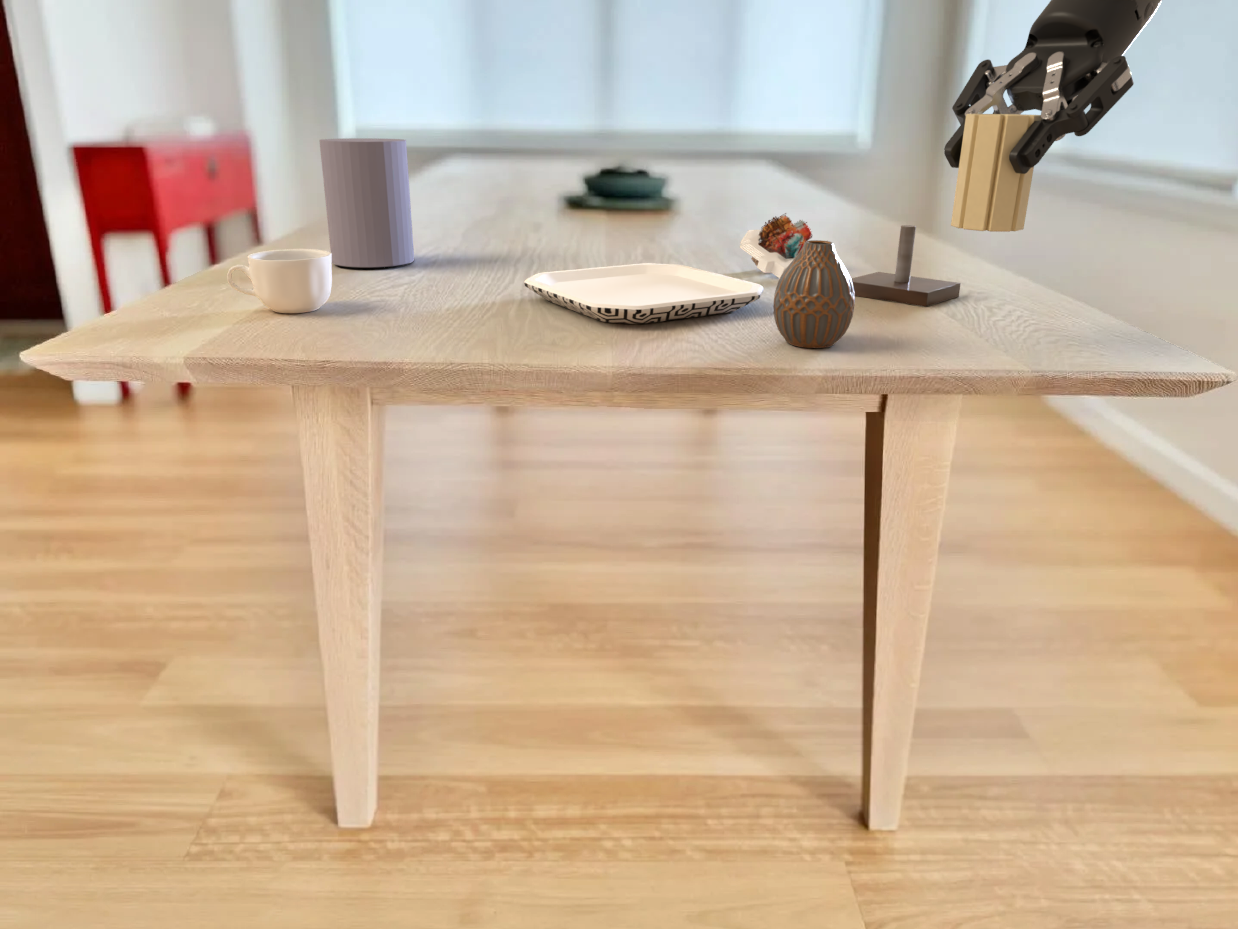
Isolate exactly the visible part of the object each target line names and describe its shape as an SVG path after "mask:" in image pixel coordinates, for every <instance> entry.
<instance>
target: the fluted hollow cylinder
mask: <svg viewBox="0 0 1238 929" xmlns="http://www.w3.org/2000/svg"><path fill="white" fill-rule="evenodd" d="M1041 120H1042V119H1041V114H1026V113H1025V114H1024V113H1021V114H993V113H983V114H966V119H965V127H964V134H963V141H962V148H961V155H960V163H959V168H958V170H957V176H956V177H957V178H956V186H955V190H954V191H955V192H954V199H953V205H952V206H953V207H952V214H951V221H950V227H954V228H956V229H963V230H965V231H966V230H968V231H976V232H977V231H978V232H986V231H987V232H990V233H991V232H996V233H997V232H998V233H1000V232H1003V233H1005V232H1007V233H1009V232H1019V231H1023V230H1024V229H1025V222H1026V217H1027V211H1028V210H1027V209H1028V205H1029V199H1030V193H1031V186H1032V181H1033V175H1034V168H1035V166H1034V167H1032V168H1030V170H1029V171H1028V172H1027V173H1026V174H1020V173H1016V172H1015V171H1014V169H1013V167H1012V165H1011V162H1010V160H1009V155H1010V152H1011V151H1012V149H1013V148H1014V147H1015V145H1016V144H1017V143H1018V142H1019V140H1020V139H1021V138H1022V136H1023V135H1024V134H1025V132H1026V131H1027V130H1028V128H1029V127H1030V126H1031V125H1032V123H1033V122H1034V121H1041Z"/></svg>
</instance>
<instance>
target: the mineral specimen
mask: <svg viewBox="0 0 1238 929" xmlns="http://www.w3.org/2000/svg"><path fill="white" fill-rule="evenodd" d="M812 232H813V231H811V228H810V227H809V224H808V221H806V220H803V219H799V220H798V221H796V222H792V219H791V218H790V217H789V216H787V212H785V213H783V214H782V215H780V216H776V215H775V216H772V218H771V219H768V220H767V222H766V221H765V222H764V225H763V226H761V228H760V229H747V231H746V233H745V235H744V236H743V237H742V239H741V241H739V244H740V245H739V248H740V249H741V250H743V251H744V252H745V253H747V254H748V255H750V256H751V257H750V259H751V261H752V262H753V264H754V265H755V266H756V269H758V270H759V271H761V273H764V274H769V273H770V274H772V275H774V276H775V277H776V278H778V280H779V279H780V277H781V275H782V273H783V272H784V270H785V269H786V268H787V267H788V266H789V264H790V263H791V262H792V261H793V260H794V259H795V257H796V256H797V255H798V254H799V252H800V251H801V249H802V247H803V245H804V243H805V242H806V241H810V240H811V239H812V238H813V234H812Z"/></svg>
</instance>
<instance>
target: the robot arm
mask: <svg viewBox="0 0 1238 929" xmlns="http://www.w3.org/2000/svg"><path fill="white" fill-rule="evenodd" d="M1162 1H1163V0H1050V1H1048V4H1046V6H1045V8H1044V9H1043V10H1042V11H1041V12H1040V14H1039V15H1038V16H1037V18H1036V19H1035V20H1034V22H1033V23H1032V24H1031V27H1030V29H1029V31H1028V32H1029V33H1028V36H1027V40H1026V43H1025V47H1024V49H1023V50H1022V51H1021V52H1019V53H1018V54H1017V55H1016V56H1014V57H1013V58H1012V59H1010V60H1009V62H1008V63H1007V64H1006V65H1005V64H1004V65H998V66H994V65H993V63H992V60H991V59H984V60H982V61H980V62H979V63H978V64H977V66H976V68H975V69H974V71H973V73H972V74H971V75H970V78H969V79H968V81H967V82H966V84H965V85H964V87H963V88H962V91H961V92H960V93H959V96H958V97H957V99H956V100H955V102H954V104H953V105H952V108H951V109H952V110H953V113H954V115H955V117H956V119H957V122H958V123H959V126H958V127H957V129H956V130H955V132H954V133H953V135H952V136H951V137H950V138H949V140H948V141H947V142H946V144H944V148H943V151H944V152H943V153H944V157H945V159H946V160H947V162H948V165H949V166H950V167H951V168H953V169H959V163H960V155H961V148H962V141H963V134H964V127H965V119H966V114H985V112H986V111H988V110H990V108H992V109H993V112H992V114H1023V113H1024V112H1027V111H1033V110H1035V111H1039V112H1040V115H1041V119H1042V120H1041V121H1034V122H1033V123H1032V125H1031V126H1030V127H1029V128H1028V130H1027V131H1026V132H1025V134H1024V135H1023V136H1022V138H1021V139H1020V140H1019V142H1018V143H1017V144H1016V145H1015V147H1014V148H1013V149H1012V151H1011V152H1010V155H1009V160H1010V162H1011V165H1012V167H1013V169H1014V171H1015V172H1016V173H1020V174H1026V173H1027V172H1028V171H1029V170H1030V168H1032V167H1034V168H1035V166H1036V165H1038V164H1039V163H1040V161H1042V159H1043V157H1044V156H1045V155H1046V153H1047V152H1048V151H1049V150H1050V148H1051V147H1052V145H1053V144H1054V143H1055V142H1058V141H1060V140H1062V139H1064V138H1065V136H1066V135H1068V134H1072V133H1074V136H1076V137H1083V136H1086V135H1087V134H1089V133H1090V131H1091V130H1092V129H1094V127H1095V126H1097V124H1098V123H1099V122H1100V121H1101V120H1102V119H1103V118H1104V117H1105V116H1106V115H1107V114H1108V112H1109V111H1110V110H1111V109H1112V108H1113V107H1114V106H1115V105H1116V104H1117V103H1118V102H1119V101H1120V100H1121V99H1122V98H1123V97H1124V95H1126V93H1127V92H1128V91H1129V90H1130V89H1131V88H1132V87H1133V86H1134V84H1135V81H1134V78H1133V76H1132V72H1131V68H1130V66H1129V65H1130V64H1128V61H1127V58H1126V56H1125V53H1126V52H1127V51H1128V49H1129V48H1130V47H1131V45H1132V44H1133V43H1134V41H1135V40H1136V39H1137V37H1139V35H1140V34H1141V32H1142V31H1143V29H1144V28H1145V27H1146V26H1147V24H1148V23H1149V22H1150V21H1151V19H1152V18H1153V16H1154V15H1155V13H1157V10H1158V8H1159V7H1160V6H1161V3H1162ZM1005 92H1006V94H1007V96H1008V98H1009V101H1010V102H1011V104H1010V105H1009V106H1008V105H1007V102H1006V99H1005V98H1004V94H1005ZM1089 106H1090V108H1089V110H1087V112H1085V110H1086V109H1087V108H1088V107H1089Z"/></svg>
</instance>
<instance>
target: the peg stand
mask: <svg viewBox="0 0 1238 929" xmlns="http://www.w3.org/2000/svg"><path fill="white" fill-rule="evenodd" d="M916 231H917V225H913V224H902V225H900V230H899V239H898V247H897V254H896V255H897V257H896V261H895V262H896V264H895V272H894V273H891V272H883V271H877V272H872V273H868V274H864V275H860V276H855V277H851V279H852V282H853V286H854V293H855V297H861V298H868V299H873V300H879V301H880V300H881V301H887V302H893V303H897V304H898V303H899V304H906V305H912V306H917V307H924V308H927V307H929V306H933V305H936V304H940V303H942V302H946V301H949V300H952V299H955V298H959V296H960V291H961V282H956V281H948V280H943V279H936V278H935V279H934V278H927V277H919V276H912V275H911V271H912V265H913V264H912V263H913V255H914V248H915V240H916Z"/></svg>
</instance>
